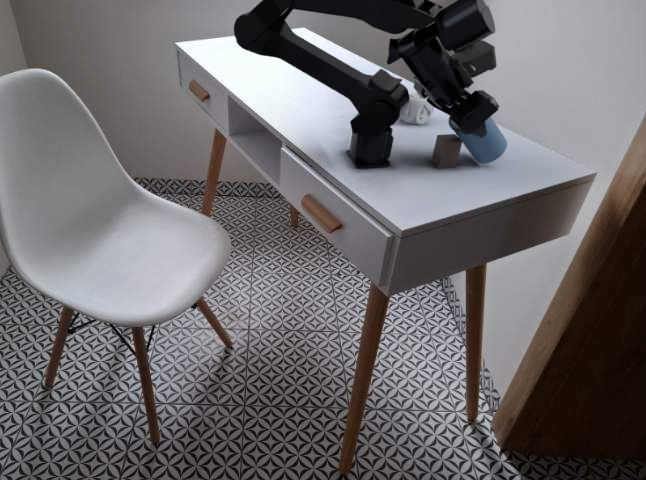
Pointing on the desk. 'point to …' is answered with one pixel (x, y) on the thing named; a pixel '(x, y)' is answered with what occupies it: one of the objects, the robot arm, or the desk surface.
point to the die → (417, 110)
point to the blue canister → (484, 142)
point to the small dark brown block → (446, 150)
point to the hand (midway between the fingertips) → (475, 127)
